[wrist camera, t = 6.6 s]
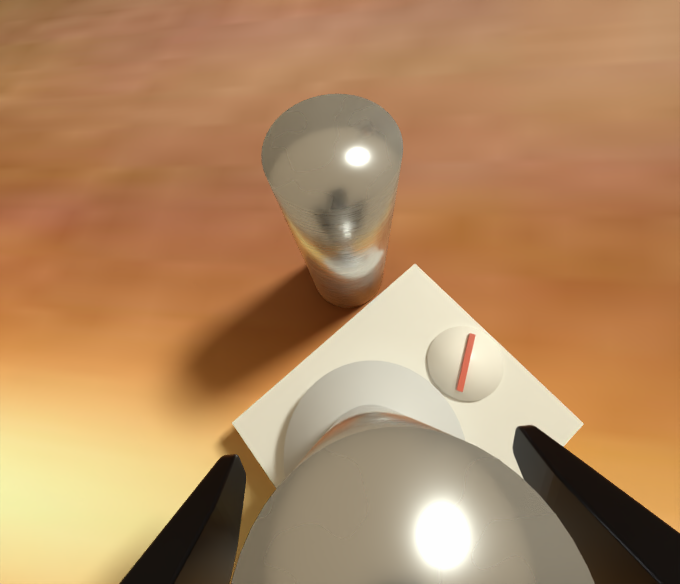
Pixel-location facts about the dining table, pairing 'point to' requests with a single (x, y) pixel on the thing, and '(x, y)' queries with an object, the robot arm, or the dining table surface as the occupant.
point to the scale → (405, 381)
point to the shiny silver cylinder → (405, 514)
